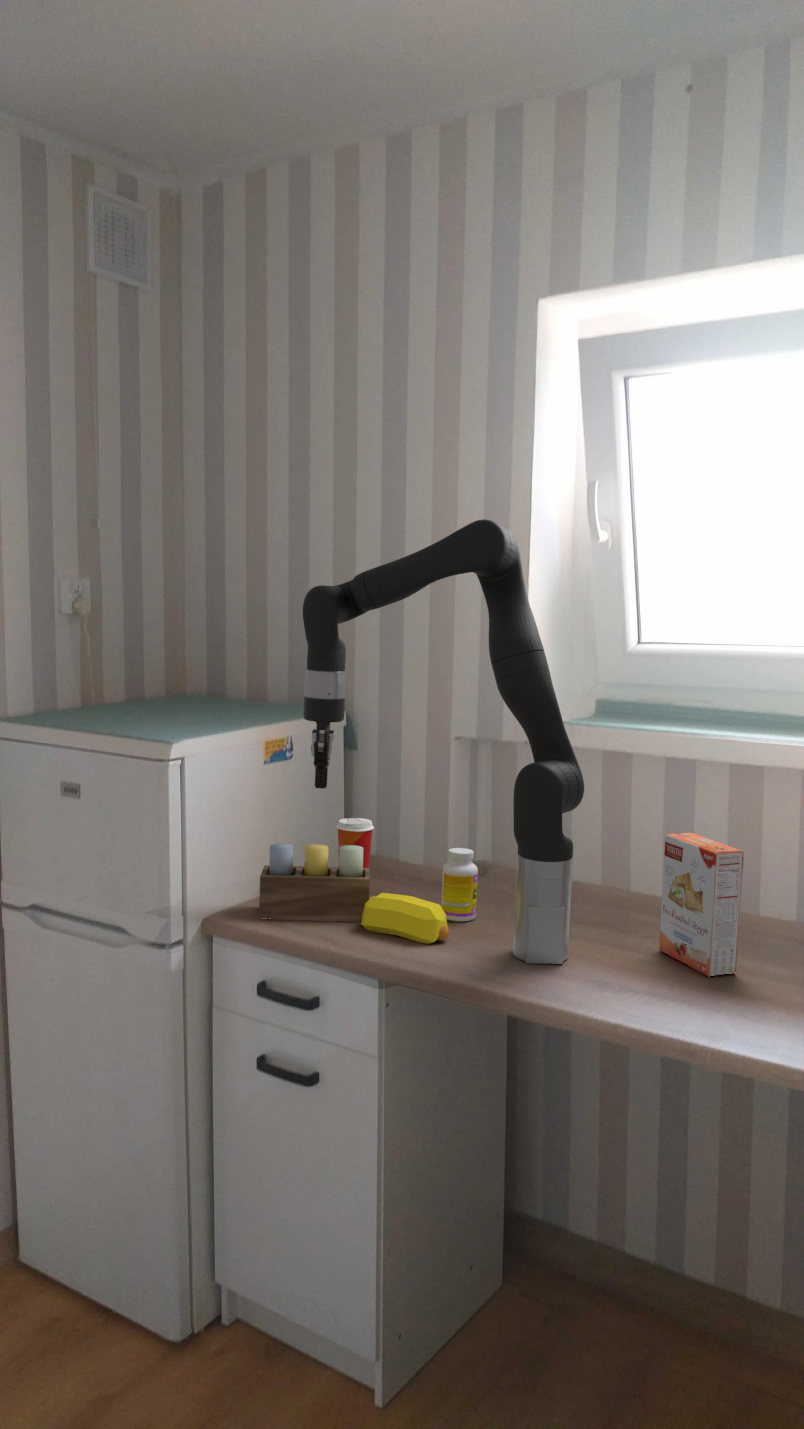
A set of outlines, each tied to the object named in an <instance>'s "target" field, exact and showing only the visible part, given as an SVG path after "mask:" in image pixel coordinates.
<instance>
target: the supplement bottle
mask: <svg viewBox="0 0 804 1429" xmlns="http://www.w3.org/2000/svg"><path fill="white" fill-rule="evenodd" d="M474 854H475V852H474V850H472V849H469V848H465V847H453V848H449V849H448V853H447V856H448V858H449V859H448V861H447V862H445V864H444V865H443V866H442V878H441V880H442V881H441V884H442V885H441V904H440V906H441V908H442V909H443V911H444V912H445V914H446V918H447V921H452V922H459V923H461V922H469V921H473V920H474V919H475V918H476V916H477V904H478V902H477V901H478V876H479V875H478V874H479V870H478V866H477V865H476V864H475V863H473V859H474Z"/></svg>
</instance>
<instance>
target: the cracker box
mask: <svg viewBox="0 0 804 1429" xmlns="http://www.w3.org/2000/svg"><path fill="white" fill-rule="evenodd" d="M664 839H665V840H664V854H663V856H664V857H663V873H662V891H661V906H660V907H661V909H660V927H659V947H658V949H659V950H658V951H660V952H662V953H664V954H665V955H667V954H668V955H667V956H669V957H671V958H673V959H675V960H676V959H677V961H678V960H679V961H678V962H680V961H681V963H682V962H683V963H682V964H684V963H685V964H687V965H688V967H689V966H690V967H689V968H691V967H692V968H691V969H693V968H694V969H695V970H694V969H693V970H694V971H696V970H697V971H696V972H698V971H699V972H698V973H700V972H701V973H703V974H705V975H707V976H712V975H721V974H727V973H732V972H736V973H737V964H738V951H739V950H738V949H739V933H740V932H739V931H740V917H741V915H740V914H741V903H742V901H741V900H742V887H743V886H742V885H743V869H744V855H745V854H744V851H743V850H741V849H738V848H735V847H733V846H730V845H727V844H724V843H721V842H718V841H716V840H713V839H710V838H708V837H705V836H702V835H700V834H696V833H695V832H683V833H682V832H678V833H677V832H675V833H667V834H665V838H664ZM685 964H684V965H685ZM687 965H686V966H687ZM701 973H700V974H701ZM703 974H702V975H703ZM705 975H704V976H705ZM707 976H706V977H707Z"/></svg>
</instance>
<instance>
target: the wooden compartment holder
mask: <svg viewBox="0 0 804 1429" xmlns="http://www.w3.org/2000/svg"><path fill="white" fill-rule="evenodd" d="M370 877H371V876H370V867H369V868H363V877H339V866H337V867H336V866H328V876H304V865H302V866H301V865H298V866H297V865H293V875H269V865H264V866H263V868H262V871H261V873H260V875H259V905H258V906H259V910H258V912H259V913H258V914H259V915H258V919H259V920H262V919H261V918H267V919H269V918H271V919H288V920H287V921H305V920H306V921H308V922H309V921H311V922H312V921H313V922H315V921H316V922H317V921H318V922H319V921H320V922H348V923H349V922H354V923H355V922H357V923H358V922H359V923H362V918H361V916H362V913H363V911H364V906H365V903H366V902H367V901H368V900H369V899H370Z"/></svg>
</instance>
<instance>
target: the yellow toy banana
mask: <svg viewBox="0 0 804 1429" xmlns="http://www.w3.org/2000/svg"><path fill="white" fill-rule="evenodd" d="M361 918H362V922H360V923H361V926H362V927H363V928H364V929H365V930H366V931H369V932H375V933H378V934H379V933H380V934H386V935H394V936H399V937H401V938H405V939H408V940H411V941H415V942H417V943H423V944H426V945H428V944H432V943H434V942H436V941H439V942H441V941H445V940H448V937H449V935H450V930H449V926H448V920H447V918H446V914H445V912H444V911H443V909H442V908H441V904H439V903H435V902H432V901H428V900H425V899H422V898H419V897H415V896H411V895H407V894H399V893H398V894H397V893H389V892H381V893H379V894H378V895H375V896H371V897H369V900H368V901H367V902H366V903H365V906H364V911H363V913H362V916H361Z"/></svg>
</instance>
